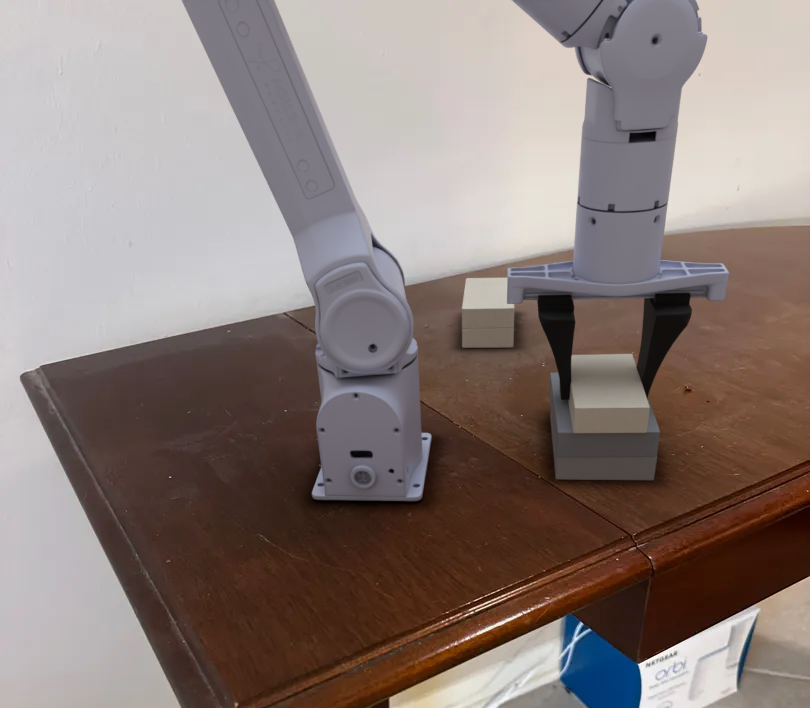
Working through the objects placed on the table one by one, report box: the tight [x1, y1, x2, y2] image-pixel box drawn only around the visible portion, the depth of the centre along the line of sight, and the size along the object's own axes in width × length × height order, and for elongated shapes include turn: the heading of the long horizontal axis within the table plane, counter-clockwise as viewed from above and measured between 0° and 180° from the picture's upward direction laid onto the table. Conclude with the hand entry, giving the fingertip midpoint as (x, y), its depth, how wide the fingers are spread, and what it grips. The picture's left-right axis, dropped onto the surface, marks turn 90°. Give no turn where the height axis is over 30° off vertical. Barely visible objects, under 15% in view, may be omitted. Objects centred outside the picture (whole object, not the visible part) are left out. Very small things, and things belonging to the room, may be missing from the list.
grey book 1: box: [548, 372, 661, 457], centre depth 61 cm, size 10×7×2 cm
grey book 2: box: [549, 411, 658, 481], centre depth 62 cm, size 10×7×2 cm
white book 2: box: [461, 327, 515, 349], centre depth 83 cm, size 9×5×2 cm, turn 174°
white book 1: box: [461, 277, 515, 329], centre depth 82 cm, size 9×5×2 cm, turn 174°
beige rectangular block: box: [568, 353, 650, 433], centre depth 59 cm, size 9×5×2 cm, turn 175°
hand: (603, 394), depth 60 cm, fingers closed on beige rectangular block, 5 cm apart
